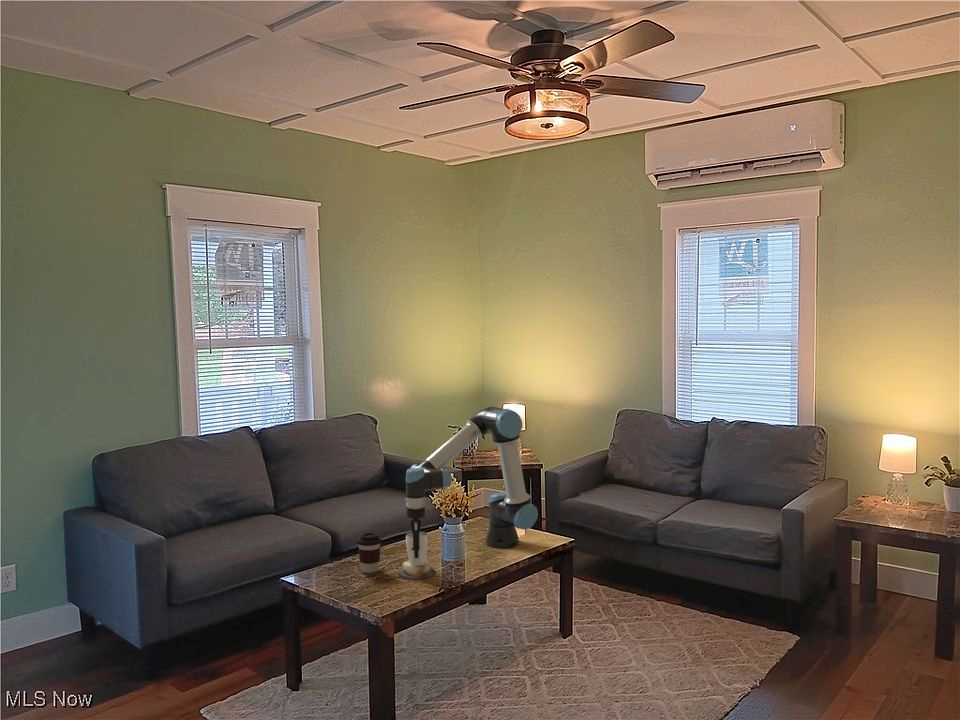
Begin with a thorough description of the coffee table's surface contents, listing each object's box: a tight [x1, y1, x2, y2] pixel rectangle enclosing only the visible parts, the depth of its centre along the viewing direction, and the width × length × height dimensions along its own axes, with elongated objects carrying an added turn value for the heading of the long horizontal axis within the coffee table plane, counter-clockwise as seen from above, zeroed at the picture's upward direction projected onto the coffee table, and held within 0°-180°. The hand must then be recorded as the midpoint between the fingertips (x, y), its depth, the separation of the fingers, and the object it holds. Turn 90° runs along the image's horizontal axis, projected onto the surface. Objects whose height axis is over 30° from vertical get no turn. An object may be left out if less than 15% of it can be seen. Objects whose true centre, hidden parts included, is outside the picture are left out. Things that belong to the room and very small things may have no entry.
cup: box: [405, 530, 429, 565], centre depth 320 cm, size 9×9×12 cm
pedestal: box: [397, 559, 436, 581], centre depth 320 cm, size 15×15×4 cm
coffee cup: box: [356, 532, 382, 574], centre depth 324 cm, size 10×10×15 cm
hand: (416, 561), depth 320 cm, fingers closed on cup, 9 cm apart
